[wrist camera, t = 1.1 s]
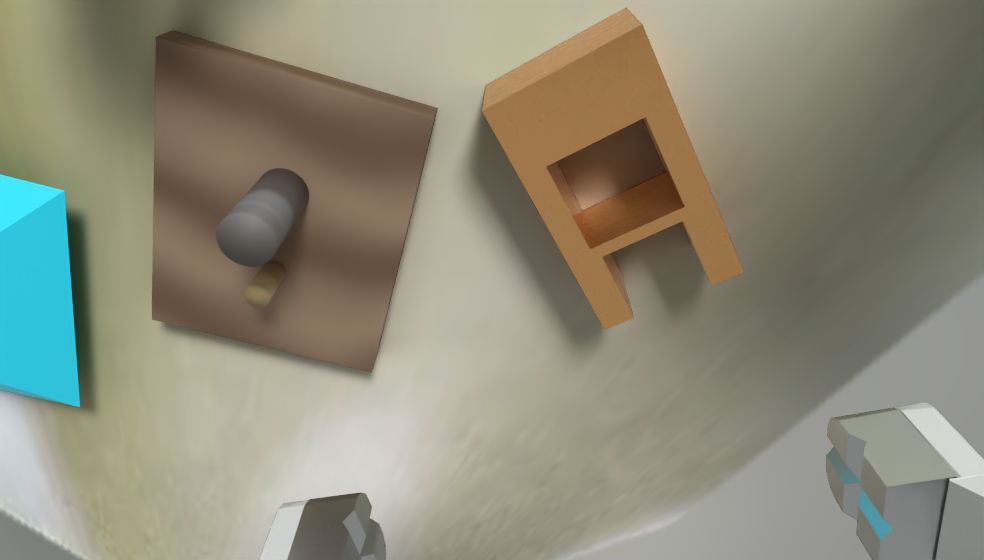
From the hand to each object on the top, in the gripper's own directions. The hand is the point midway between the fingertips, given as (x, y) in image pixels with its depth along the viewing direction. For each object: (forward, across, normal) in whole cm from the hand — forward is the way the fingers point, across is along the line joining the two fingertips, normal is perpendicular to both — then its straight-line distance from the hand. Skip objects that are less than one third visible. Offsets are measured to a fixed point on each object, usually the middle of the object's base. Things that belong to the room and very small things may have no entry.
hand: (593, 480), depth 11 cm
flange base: (+22, +13, +2) cm, 26 cm away
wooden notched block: (+21, -3, +1) cm, 22 cm away
